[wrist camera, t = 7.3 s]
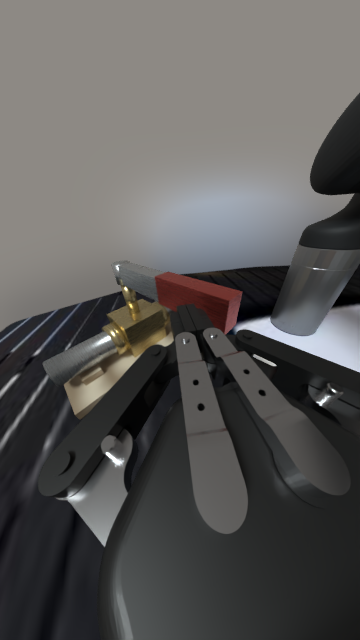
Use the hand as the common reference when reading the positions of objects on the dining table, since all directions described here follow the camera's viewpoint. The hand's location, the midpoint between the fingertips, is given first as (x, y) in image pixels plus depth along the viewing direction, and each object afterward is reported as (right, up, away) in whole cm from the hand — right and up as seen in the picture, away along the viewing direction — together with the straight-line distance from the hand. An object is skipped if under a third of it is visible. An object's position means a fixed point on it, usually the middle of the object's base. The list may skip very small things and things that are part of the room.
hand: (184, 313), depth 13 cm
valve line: (-9, -5, +19) cm, 22 cm away
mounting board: (-9, -6, +20) cm, 23 cm away
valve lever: (-3, +2, +6) cm, 8 cm away
